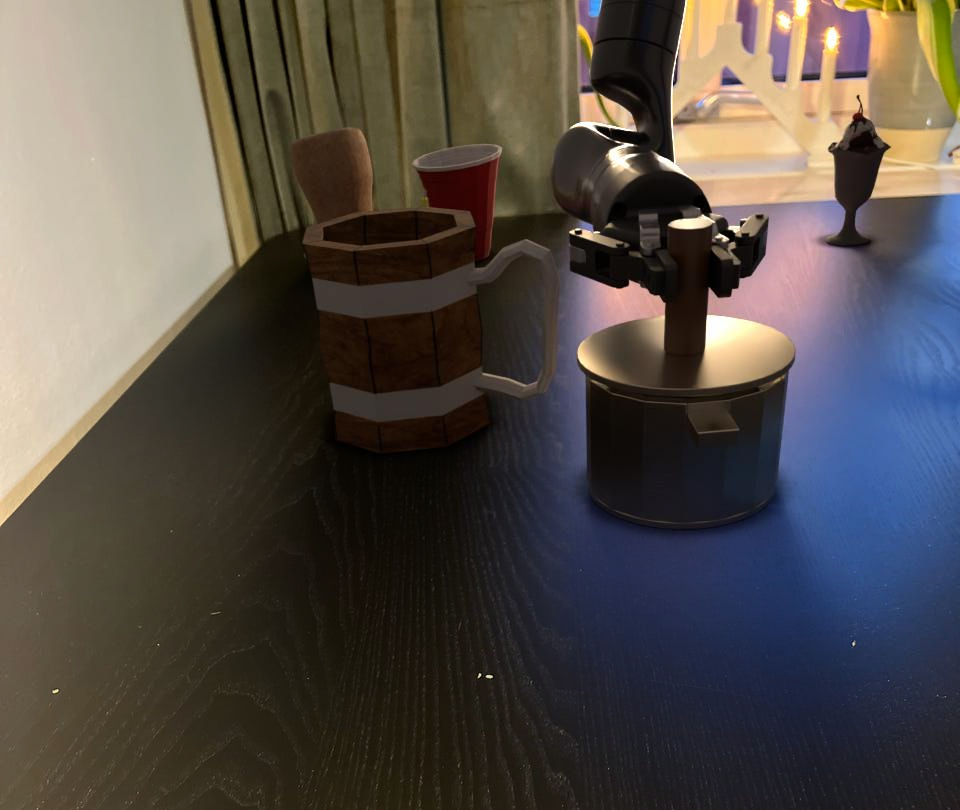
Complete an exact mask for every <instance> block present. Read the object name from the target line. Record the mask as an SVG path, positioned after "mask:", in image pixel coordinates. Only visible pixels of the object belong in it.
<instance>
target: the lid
mask: <svg viewBox="0 0 960 810" xmlns="http://www.w3.org/2000/svg"><path fill="white" fill-rule="evenodd" d="M712 231H713V223H712V222H711V221H709V220H705V219H681V220H676V221H673V222H670V223H669V224H668V241H667V252H668V253H669V254H670V255H671V257H672V258H673V259H674V260H675V262H676V263H677V266H678V284H677V300H676V302H668V303H664V315H660V316H651V317H645V318H637V319H634V320H628V321H625V322H620V323H617V324H614V325H611V326H607V327H605V328H602V329H600V330H598V331H596V332H594V333H592V334H590V335H589V336H588V337H586V338H585V339H584V340H582V342H581V343H580V344H579V346H578V348H577V351H576V363H577V366H578V368H579V370H580V371H581V372H582V373H583V374H584V375H586V376H588V377H589V378H591V379H592V380H594V381H596V382H598V383H601V384H603V385H606V386H608V387H612V388H615V389H619V390H623V391H627V392H632V393H638V394H645V395H654V396H669V397H696V396H711V395H720V394H727V393H733V392H739V391H743V390H747V389H751V388H755V387H758V386H761V385H764V384H766V383H769V382H771V381H774V380H775V379H777V378H779V377H781V376H782V375H784V374H785V373H786V372H788V370H789V371H790V369H792V367H793V366H794V363H795V361H796V352H797V349H796V345H795V344H794V342H793V340H792V339H791V338H790V337H788V335H786V334H785V333H783V332H781V331H779V330H777V329H775V328H773V327H771V326H769V325H765V324H763V323H760V322H755V321H751V320H746V319H742V318H738V317H737V318H736V317H730V316H720V315H708V312H709V311H708V310H709V293H710V288H709V280H710V264H711V247H712Z"/></svg>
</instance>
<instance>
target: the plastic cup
mask: <svg viewBox="0 0 960 810" xmlns="http://www.w3.org/2000/svg"><path fill="white" fill-rule="evenodd" d="M502 151H503V147H501V146H500V145H498V144H491V143H480V144H479V143H477V144H466V145H459V146H452V147H448V148H444V149H439V150H435V151H432V152H430V153H426V154H423V155H421V156H419V157H417V158H415V159H414V160H413V162H412V163H411V166H412V168H413V169H415V171H416V173H417V174H418V177H419V180H420V181H421V184H422V188H423V189H424V191H425V190H427V192H426V198H428V207H432V208H442V209H452V210H461V211H470V213H471V215H472V218H473V221H474V223H475V226H476V234H475V261H474V262H478V261H481V260H485V259H486V258H488V257H489V256H490V251H491V248H492V233H493V226H494V217H495V216H494V215H495V204H496V203H495V202H496V188H497V187H496V186H497V179H498V168H499V161H500V156H501V155H502Z"/></svg>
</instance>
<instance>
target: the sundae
mask: <svg viewBox="0 0 960 810" xmlns="http://www.w3.org/2000/svg"><path fill="white" fill-rule="evenodd" d="M860 96H861V95H860V94H857V95H856V97H855V98H856V99H857V101H858V103H859V108H858V111H857V112H854V114H853V115H852V116H851V122H849V123H848V125H847V126H846V127H845V128H844V131H843V133H842V137H841V139H840V140H838V141H833V142H832V143H831V144H830V145H829V146H828V147H827V152H828V153H830V154H832V156H833V187H834V188H833V189H834V198H835V200H836V201H837V202H838V204H839V205H840V206H841V207H842V208H843V209H844V211H845V212H844V219H843V224H842V226H841V229H840V230H839V231H838V233H834V234H832V235H828V236H826V238H825V239H824V241H825V242H826V243H827V244H830V245H834V246H845V247H846V246H847V247H849V246H859V245H864V244H866V243H867V244H868V242H869V241H870V240H871V239H870V237H869V236H867V235H865V234H861V233H859V231H858V230H857V227H856V217H857V211H858V210H859V208H861V206H864V204H866V203H867V202H868V201H869V199H870V198H872V195H873V191H874V188H875V186H876V182H877V179H878V175H879V171H880V167H881V164H882V161H883V158H884V154H885V153H886V152H887V151H889V150H890V149H891V148H892V145H890V144H889V143H887V142H885V141H884V140H883V139H882V138H881V137H880V136H879V134H878V132H877V131H876V126H875V124H874V123H873V121H872V120H871V119H869V118H866V117H865V116H864V107H863V104H862V103H863V102H862V101H861V98H860Z"/></svg>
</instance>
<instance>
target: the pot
mask: <svg viewBox="0 0 960 810" xmlns="http://www.w3.org/2000/svg"><path fill="white" fill-rule="evenodd" d="M789 374H790V369H789V370H788V372H786V373H785V374H784V375H782V376H781V377H779V378H777V379H775V380H774V381H771V382H769V383H766V384H764V385H761V386H758V387H755V388H751V389H747V390H743V391H739V392H733V393H727V394H720V395H711V396H696V397H669V396H654V395H645V394H638V393H632V392H627V391H623V390H619V389H615V388H612V387H608V386H606V385H603V384H601V383H598V382H596V381H594V380H592V379H591V378H589V377H588V376H586V375H585V374H584V375H585V436H586V437H585V439H586V440H585V441H586V444H585V445H586V479H587V483H588V484H587V486H588V493H589V496H590V498H591V500H593V502H594V503H595V504H596V505H597V506H598V507H599V508H600V509H602V510H603V511H605V512H606V513H608V514H610V515H611V516H614V517H615V518H618V519H620V520H622V521H625V522H628V523H632V524H636V525H639V526H640V525H641V526H645V527H648V528H649V527H650V528H656V529H657V528H658V529H666V530H667V529H668V530H700V529H701V530H702V529H708V528H717V527H721V526H726V525H729V524H734V523H737V522H740V521H743V520H745V519H747V518H749V517H752V516H754V515H756V514H757V513H759V512H761V511H762V510H763V509H765V507H767V506H768V505H769V504H770V502H771V501H772V499H773V498H774V495H775V494H776V485H777V481H778V476H779V468H780V466H779V465H780V457H781V450H782V449H781V448H782V440H783V439H782V438H783V429H784V422H785V421H784V419H785V411H786V404H787V403H786V402H787V394H788V393H787V392H788V383H789V376H790V375H789Z"/></svg>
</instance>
